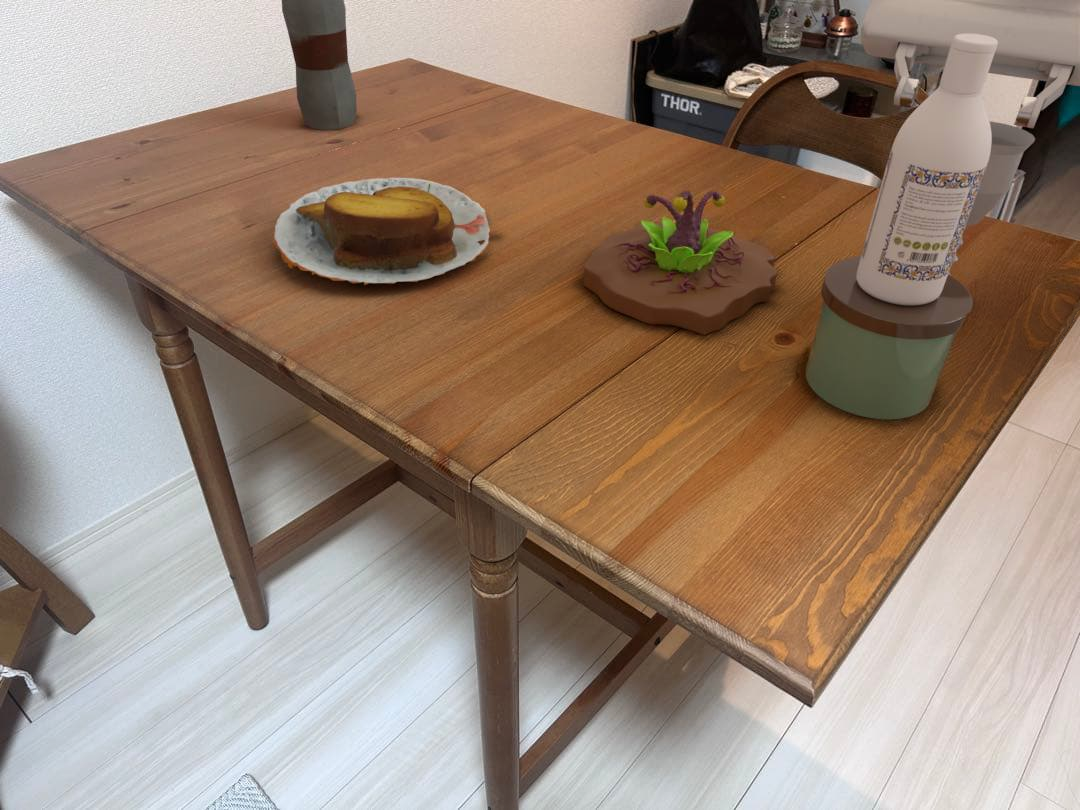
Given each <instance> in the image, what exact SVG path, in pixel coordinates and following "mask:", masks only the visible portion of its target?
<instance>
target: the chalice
mask: <svg viewBox="0 0 1080 810" xmlns="http://www.w3.org/2000/svg"><path fill="white" fill-rule="evenodd" d="M989 122H990V126H991V134H992V143H991V152H990V157H989V161H988V165H987V168H986V171H985V173H984V176H983V179H982V182H981V185H980V187H979V190H978V193H977V196H976V199H975V201H974V204H973V207H972V210H971V212H970V215H969V218H968V221H967V224H966V226H965V229H967V227H972V226H975V225H977V224H978V223H980V222H981V221H982V220H983V219H984V218H985V217H986V216H987V215H988V214H989V213H991V211H992V210H993V209H995V208H996V206H997V205H998V204H999V203H1000V202H1001V201H1002V200H1003V198H1004V197H1005V195H1007V193H1009V191H1010V188H1011V186H1012V184H1013V181H1014V179H1015V176H1016V174H1017V170H1018V168H1019V165H1020V163H1021V160H1022V158H1023V155H1024V153H1025V151H1026V150H1027V149H1028V148H1029V147H1030V146H1031V145H1033V144H1034V143H1035V141H1036V137H1035V136H1034V134H1032V133H1030V132H1029V131H1027V130H1025V129H1023V128H1020V127H1019V126H1015V125H1010V124H1007V123H1002V122H998V121H997V122H996V121H990V120H989ZM963 236H964V235H962V238H961V240H960V243H959V246H958V249H959V248H960V246H962V245H963V244H964V241H963ZM958 261H959V258H958V256H957V253H956V254H955V257H954V260H953V263H952V265H951V267H952V266H953V264H954V263H955V262H958ZM950 271H951V270H950ZM950 271H949V273H948V274H949V275H950V276H952V275H951V273H950Z"/></svg>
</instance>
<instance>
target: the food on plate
mask: <svg viewBox="0 0 1080 810" xmlns="http://www.w3.org/2000/svg"><path fill="white" fill-rule="evenodd" d="M486 213H488V210H487V208H485V207H484V206H483V205H482V204H481V203H480V202H478V201H476V200H474V199H472V198H471V197H469V196H468V195H467V194H465V193H463V192H461V191H459V190H457V189H456V188H454V187H452V186H450V185H448V184H447V185H446V184H441V183H438V182H436V181H432V180H426V179H422V178H413V177H393V176H391V177H384V178H382V177H370V178H363V179H358V180H354V181H353V180H347V181H345V182H344V181H343V182H341V183H336V184H333V185H329V186H322V187H319V188H318V189H316V190H313V191H311V192H306V193H303V194H302V197H300V198H298V199H296V200H295V201H293V202H292V203H290V205H289V208H286V209H285V210H284V211H282V212H281V213H280V215H279V216H278V217H277V220H276V224H275V226H274V233H273V234H272V237H273V238H272V242H273V244H274V246H275V249H276V250H278V251H279V252H280V256H281V257H280V259H281V260H282V261H283V262H284V263H285V264H287V266H288V268H290V269H293V267H294V268H295V267H298V269H299V270H300V271H304V272H311V275H312V276H314V275H317V276H319V277H322V278H327V279H330V280H331V281H334V282H335V281H336V282H337V281H338V282H344V281H347V282H349V283H351V284H353V285H354V284H361V283H364V284H363V285H364V286H366V285H369V284H388V285H389V284H395V283H397V282H414V283H418V281H424V280H428V279H431V278H433V277H435V276H441V275H445V273H446V272H449V271H451V270H454V269H456V268H459V267H461V266H465V265H466V263H469V262H474V261H475V260H476V259H477V257H478V256H480V255H482V252H485V251H486V250H487V248H488V246H489V245H490V242H489V238H490V234H489V233H490V232H491V229H490V227H489V221H488V218H487V215H486ZM492 234H493V235H495V233H494V232H492ZM481 241H484V242H483V243H482V244H480V243H479V242H481Z"/></svg>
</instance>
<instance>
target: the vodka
mask: <svg viewBox="0 0 1080 810" xmlns="http://www.w3.org/2000/svg"><path fill="white" fill-rule="evenodd" d="M346 10H347V9H346V5H345V0H281V12H282V15H283V16H282V17H283V19H284V23H285V26H286V30H287V34H288V38H289V41H290V42H289V44H290V46H291V47H290V48H291V51H292V55H293V59H294V63H295V85H296V86H295V87H296V99H297V103H298V107H299V110H300V114H301V116H302V118H303V121H304V123H305V124H306V126H307V127H309V128H310V129H313V130H321V131H333V130H340V129H344V128H348V127H350V126H353V124H355V122H356V117H357V111H358V110H357V105H358V104H357V91H356V87H355V83H354V78H353V75H352V70H351V67H350V63H349V53H348V38H347V13H346V12H347V11H346Z"/></svg>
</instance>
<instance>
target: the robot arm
mask: <svg viewBox="0 0 1080 810" xmlns="http://www.w3.org/2000/svg"><path fill="white" fill-rule="evenodd" d="M860 29H861V31H860V41H861V46H862V48H863V50H864V52H865V54H866V55H867V56H869V57H874V58H883V59H889V60H894V68H893V71H894V75H895V78H896V82H897V87H896V90H895V93H894V96H893V106H898V107H903V108H910V109H911V108H913V105H914V103H915V102H914V101H915V99H916V97H917V95H918V92H919V84H920V79H917V78H912V77H911V76H910V72H911V71H912V70H913V67H914V64H915V63H917V64H925V65H932V66H936V67H937V66H939V67H943V68H944V67H945V64H946V60H947V57H948V54H949V50H950V47H951V44H952V41H953V38H954V37H955V36H956V35H958V34H980V35H986V36H990V37H993V38H995V39H996V40H997V41H998V44H997V48H996V50H995V54H994V57H993V60H992V63H991V66H990V69H989V71H988V74H993V75H1000V76H1007V77H1014V78H1020V79H1027V80H1034V81H1043V82H1045V85H1044V88H1043V90H1042V91H1041V92H1039V94H1037V95H1036V96H1029V95H1024V96H1023V99H1022V102H1021V104H1020V107H1019V110H1018V112H1017V115H1016V117H1015V121H1014V123H1013V126H1016V127H1023V128H1029V129H1034V128H1035V126H1036V123H1037V120H1038V118H1039V115H1040V114H1041V113H1040V112H1041V111H1044V109H1046V108H1047V107H1049V105H1051V104H1052V103H1053V102H1055V101H1056V100H1057V99H1059V98H1060V97H1061V96H1062V95H1063V93H1064V90H1065V88H1066V86H1067V85H1069V86H1074V87H1075V86H1076V87H1080V0H872V2H871V3H870V5H869V7H868V9H867V11H866V14H865V15H864V18H863V21H862V25H861V28H860Z"/></svg>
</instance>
